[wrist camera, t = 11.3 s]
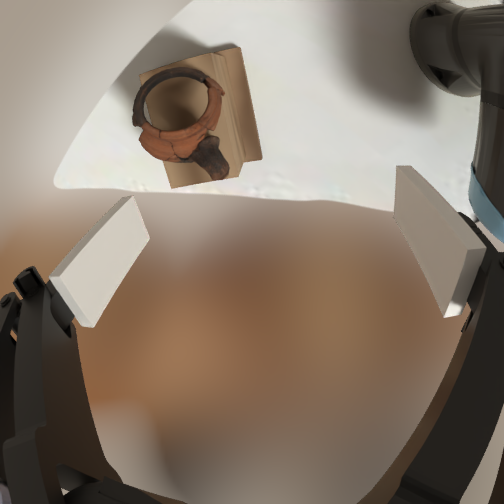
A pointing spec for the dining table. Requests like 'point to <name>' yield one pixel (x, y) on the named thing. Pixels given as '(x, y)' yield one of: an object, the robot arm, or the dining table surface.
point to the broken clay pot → (190, 138)
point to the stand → (194, 105)
